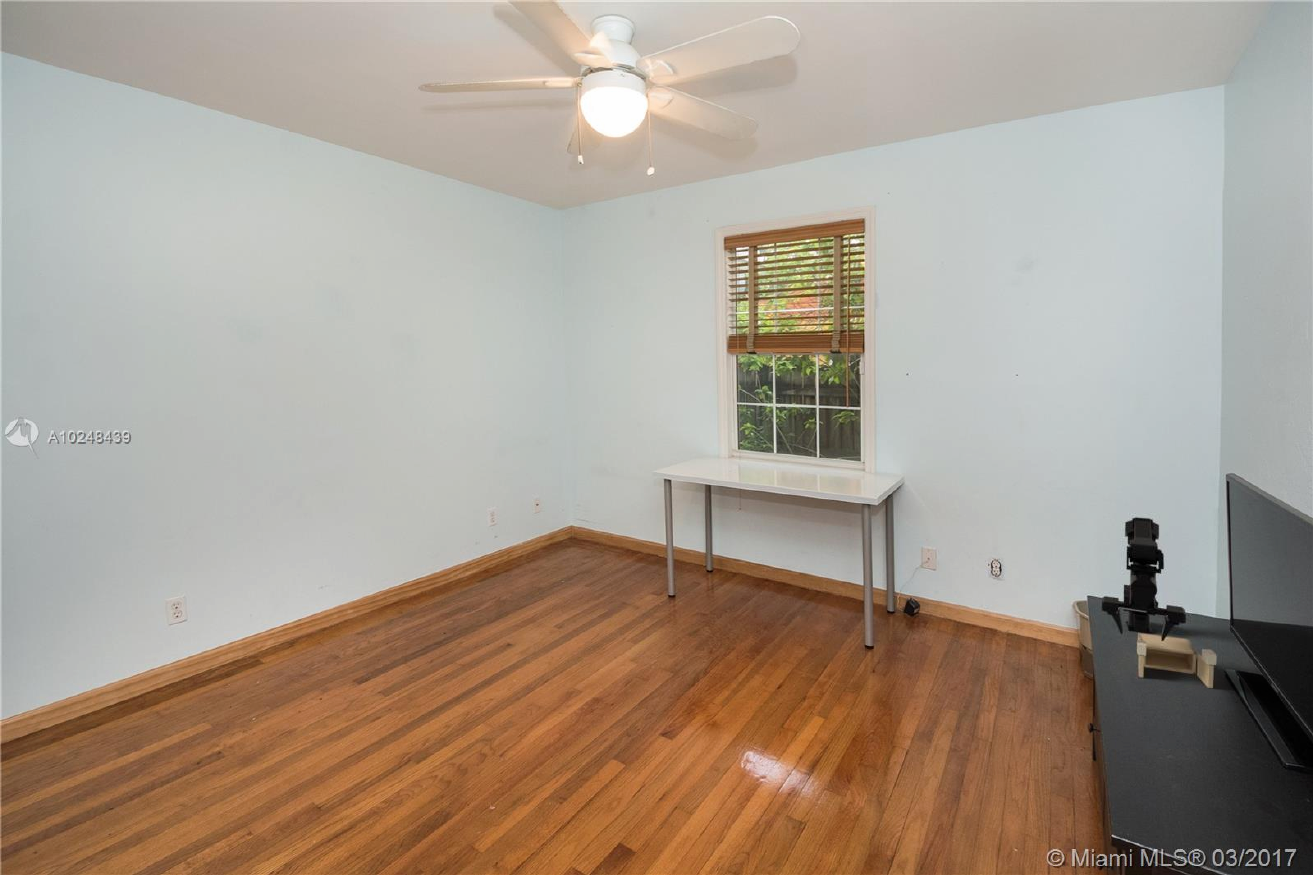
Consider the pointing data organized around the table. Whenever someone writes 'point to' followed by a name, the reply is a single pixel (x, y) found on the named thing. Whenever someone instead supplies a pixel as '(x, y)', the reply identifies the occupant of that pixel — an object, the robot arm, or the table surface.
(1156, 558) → the robot arm
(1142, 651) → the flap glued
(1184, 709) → the table surface
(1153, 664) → the carton
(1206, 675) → the flap open
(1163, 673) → the table surface
